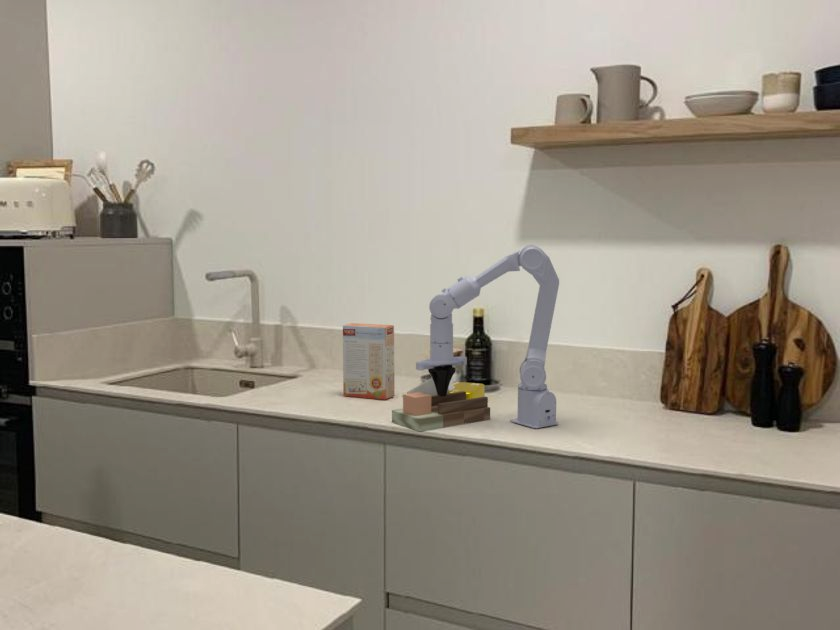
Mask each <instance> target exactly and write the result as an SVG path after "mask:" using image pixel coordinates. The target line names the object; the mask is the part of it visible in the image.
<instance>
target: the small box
mask: <svg viewBox="0 0 840 630" xmlns="http://www.w3.org/2000/svg"><path fill="white" fill-rule="evenodd" d="M454 389H455V387H454V385H453V383H452V380H451V381H450V383H449V387H448V390H447V393H449V392H451V391H452V390H454ZM417 392H421V393H425V394H428V395H431V396H433V395H437V391H436V387H435V384H434V381H433V379H432V377H430V378H429V379H427V380H425V381H424V382H422V383H420V384H418V385H417V386H415V387H413V388H411V389H409V390H407V392H406V394H410V393H417Z"/></svg>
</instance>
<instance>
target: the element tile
mask: <svg viewBox="0 0 840 630" xmlns="http://www.w3.org/2000/svg"><path fill="white" fill-rule="evenodd" d="M451 381H452V380H451ZM452 383H453V385H454V387H455V389H454V390H452V391H451V392H449V393H453V392H460V391H465V392H466V399H472V398H479V397H486V396H485V391H486V390H485V387H486V386H485V384H484V383H479V382H477V383H476V382H465V381H463V382H462V381H452Z"/></svg>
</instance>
